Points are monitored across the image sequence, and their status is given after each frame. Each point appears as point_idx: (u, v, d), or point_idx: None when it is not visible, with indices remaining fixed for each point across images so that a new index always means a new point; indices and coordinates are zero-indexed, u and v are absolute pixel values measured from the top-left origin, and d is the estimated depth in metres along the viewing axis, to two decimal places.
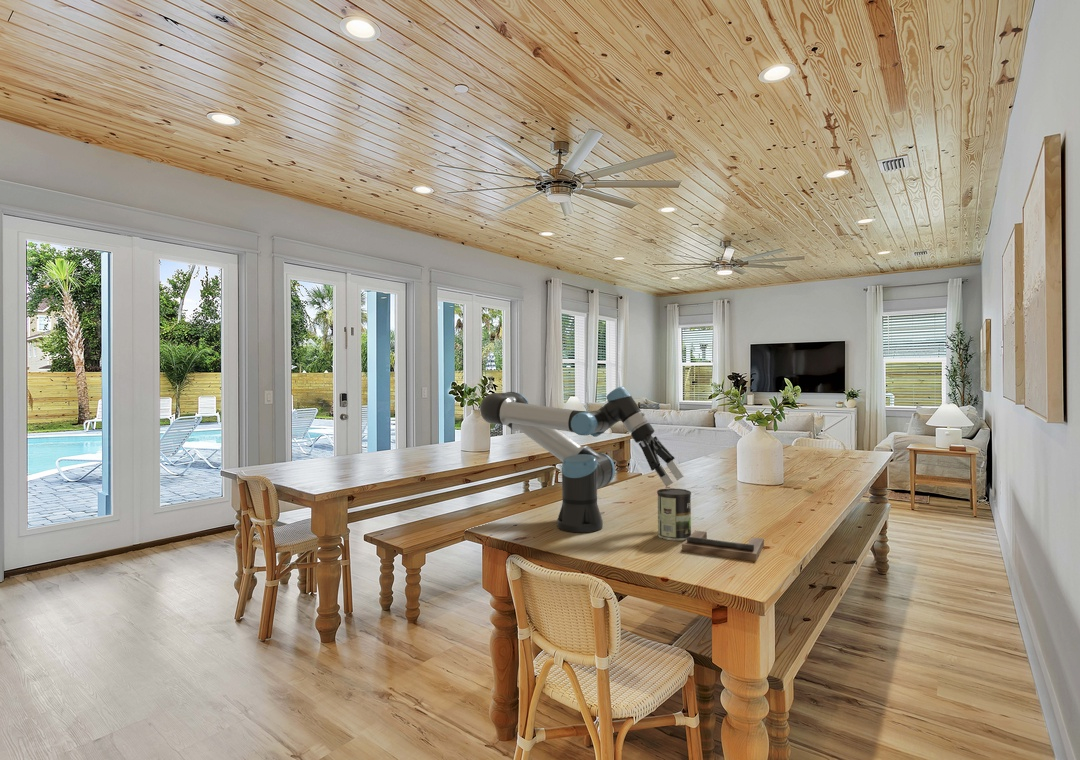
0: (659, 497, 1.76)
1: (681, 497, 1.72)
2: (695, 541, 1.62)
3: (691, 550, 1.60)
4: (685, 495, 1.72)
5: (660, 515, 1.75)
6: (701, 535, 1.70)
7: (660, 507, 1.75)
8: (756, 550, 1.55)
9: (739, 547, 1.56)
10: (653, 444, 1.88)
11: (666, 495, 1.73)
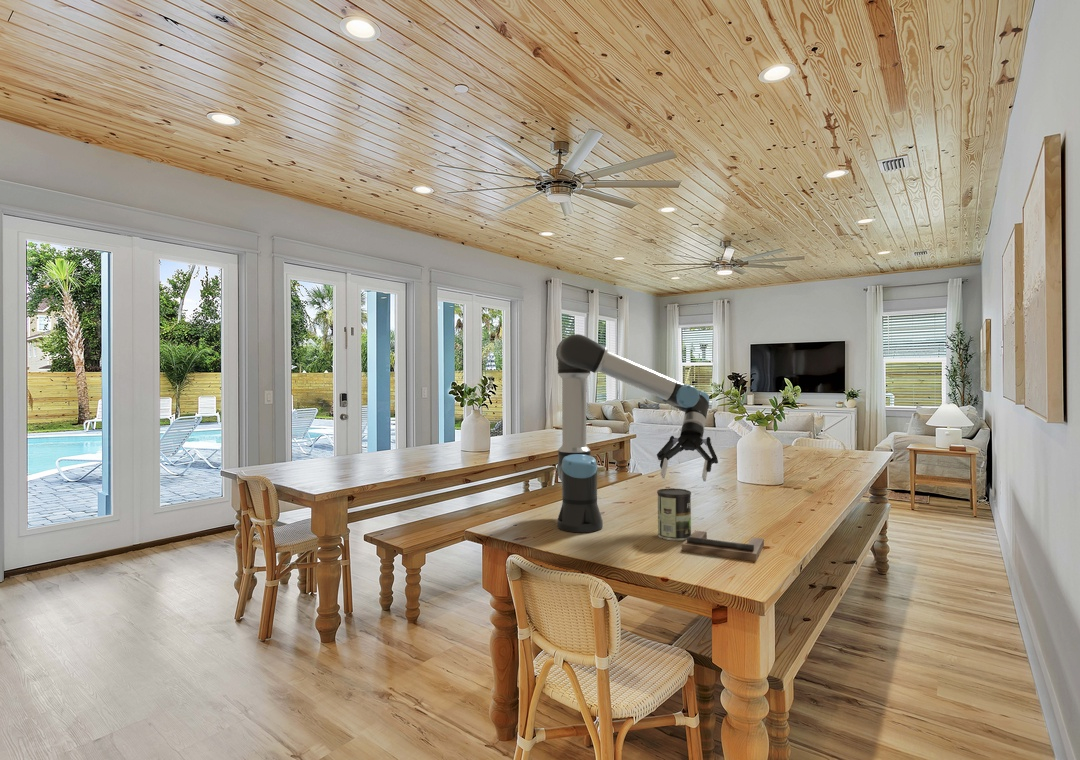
0: (659, 497, 1.76)
1: (681, 497, 1.72)
2: (695, 541, 1.62)
3: (691, 550, 1.60)
4: (685, 495, 1.72)
5: (660, 515, 1.75)
6: (701, 535, 1.70)
7: (660, 507, 1.75)
8: (756, 550, 1.55)
9: (739, 547, 1.56)
10: None
11: (666, 495, 1.73)
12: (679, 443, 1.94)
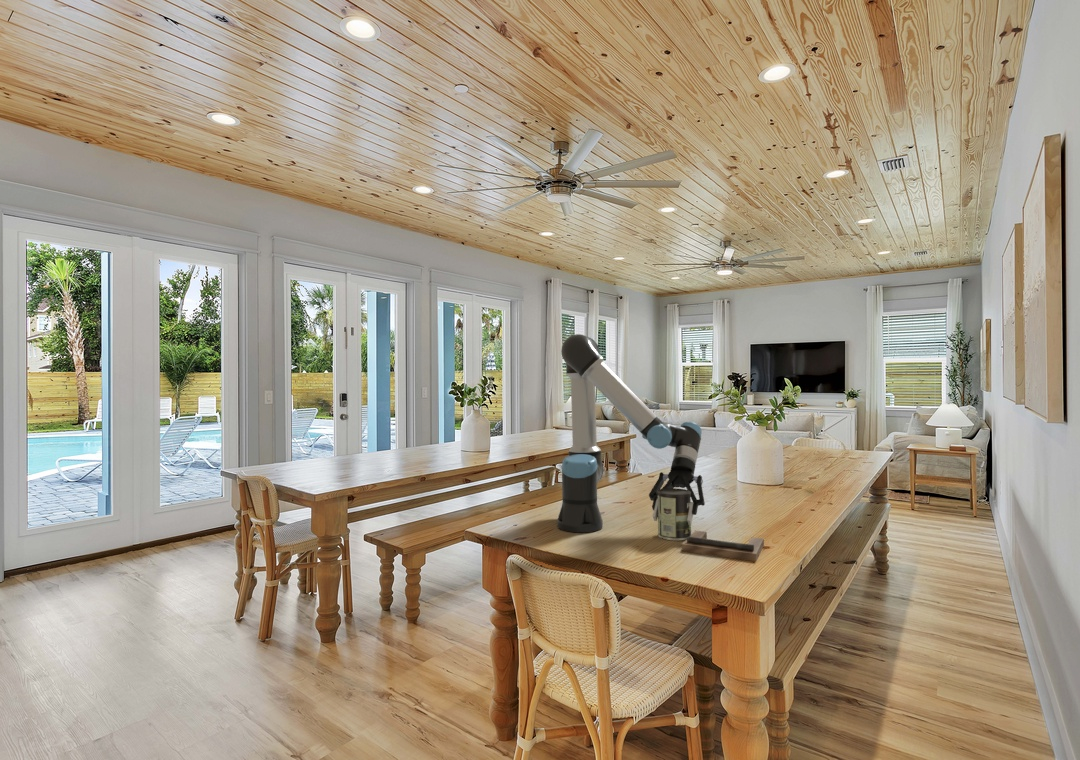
0: (659, 497, 1.76)
1: (681, 497, 1.72)
2: (695, 541, 1.62)
3: (691, 550, 1.60)
4: (685, 495, 1.72)
5: (660, 515, 1.75)
6: (701, 535, 1.70)
7: (660, 507, 1.75)
8: (756, 550, 1.55)
9: (739, 547, 1.56)
10: None
11: (666, 495, 1.73)
12: (670, 480, 1.83)
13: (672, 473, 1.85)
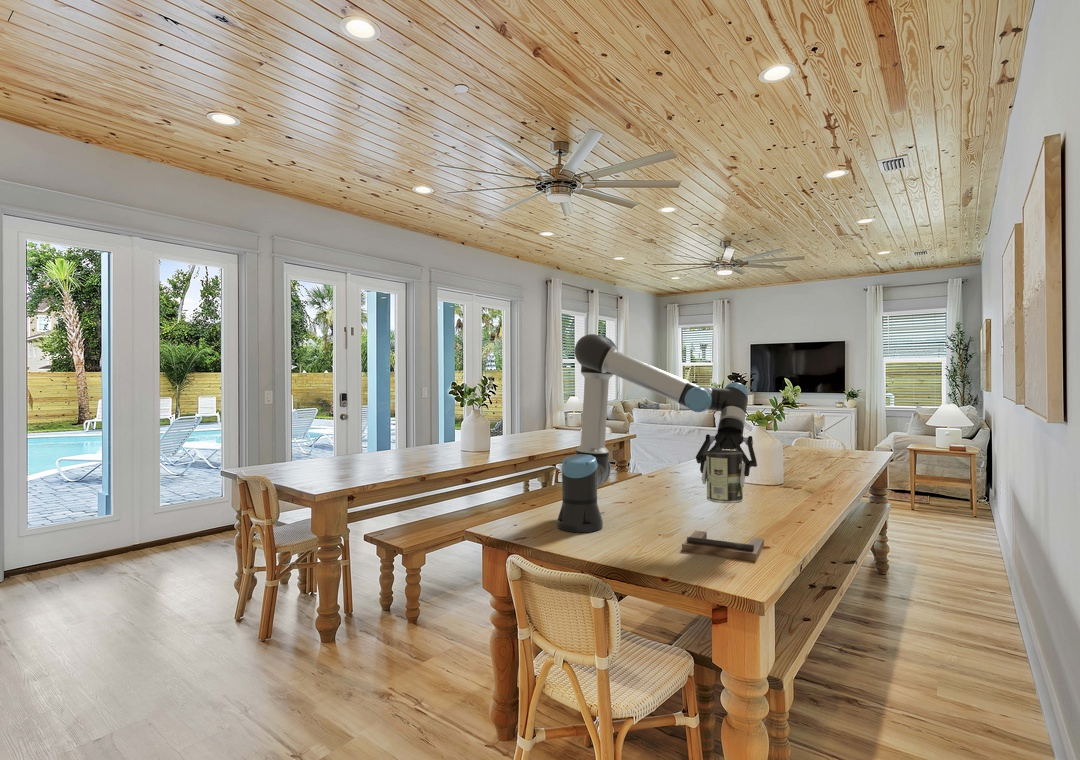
0: (708, 458, 1.65)
1: (733, 457, 1.61)
2: (695, 541, 1.62)
3: (691, 550, 1.60)
4: (737, 455, 1.62)
5: (710, 477, 1.64)
6: (701, 535, 1.70)
7: (710, 468, 1.64)
8: (756, 550, 1.55)
9: (739, 547, 1.56)
10: None
11: (717, 455, 1.62)
12: (718, 442, 1.72)
13: (719, 435, 1.75)
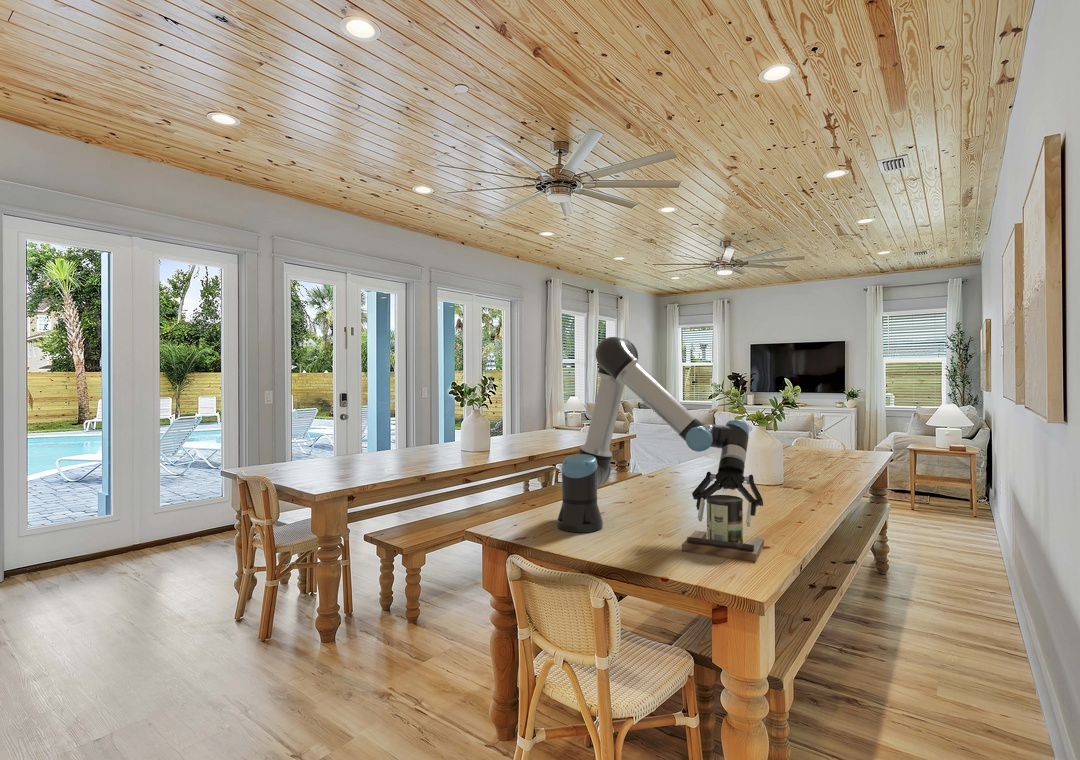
0: (709, 504, 1.65)
1: (733, 505, 1.61)
2: (695, 541, 1.62)
3: (691, 550, 1.60)
4: (738, 502, 1.62)
5: (710, 523, 1.65)
6: (701, 535, 1.70)
7: (710, 515, 1.64)
8: (756, 550, 1.55)
9: (739, 547, 1.56)
10: None
11: (717, 502, 1.62)
12: (717, 481, 1.72)
13: (720, 474, 1.74)
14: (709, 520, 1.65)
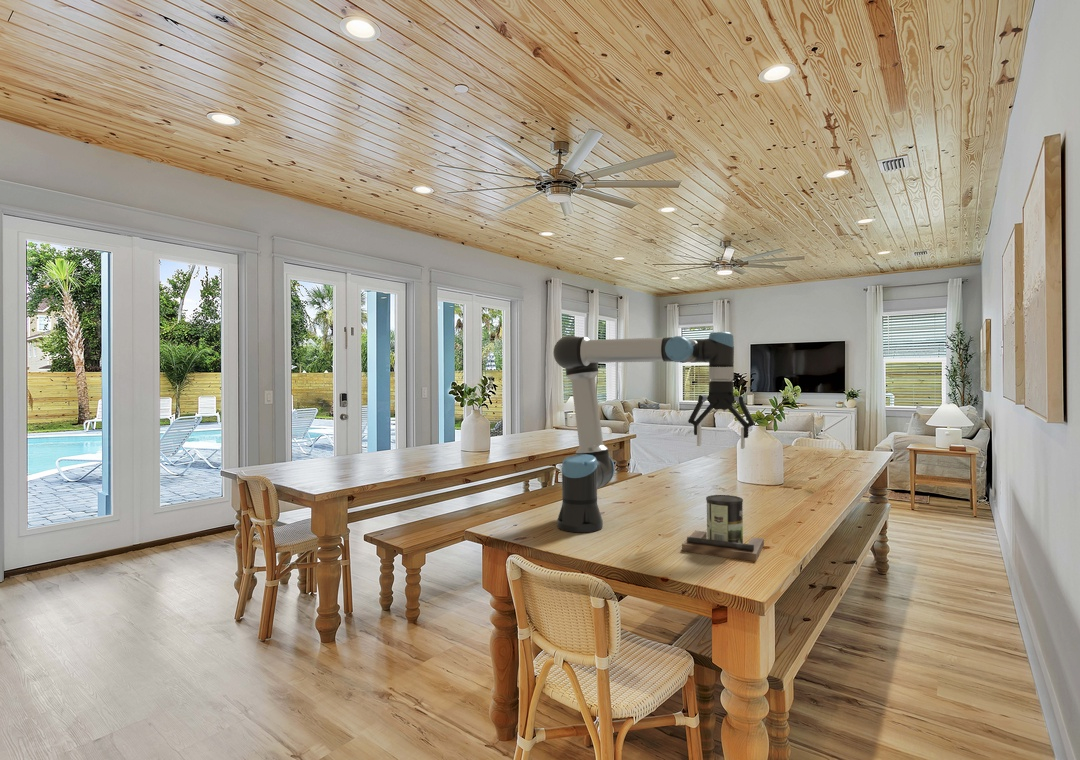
0: (709, 504, 1.65)
1: (733, 505, 1.61)
2: (695, 541, 1.62)
3: (691, 550, 1.60)
4: (738, 502, 1.62)
5: (710, 523, 1.65)
6: (701, 535, 1.70)
7: (710, 515, 1.64)
8: (756, 550, 1.55)
9: (739, 547, 1.56)
10: None
11: (717, 502, 1.62)
12: (710, 407, 1.81)
13: (711, 397, 1.81)
14: (709, 520, 1.65)
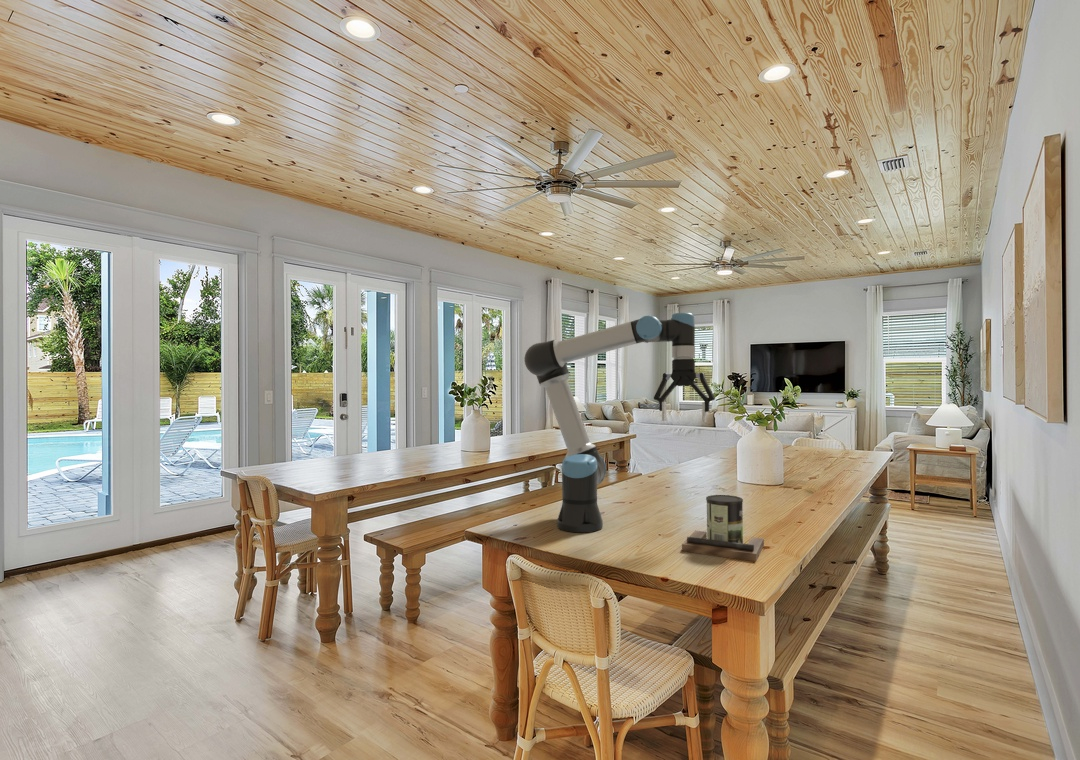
0: (709, 504, 1.65)
1: (733, 505, 1.61)
2: (695, 541, 1.62)
3: (691, 550, 1.60)
4: (737, 502, 1.62)
5: (710, 523, 1.65)
6: (701, 535, 1.70)
7: (710, 515, 1.64)
8: (756, 550, 1.55)
9: (739, 547, 1.56)
10: (693, 380, 1.92)
11: (717, 502, 1.62)
12: (673, 383, 1.92)
13: (675, 375, 1.92)
14: (709, 520, 1.65)
